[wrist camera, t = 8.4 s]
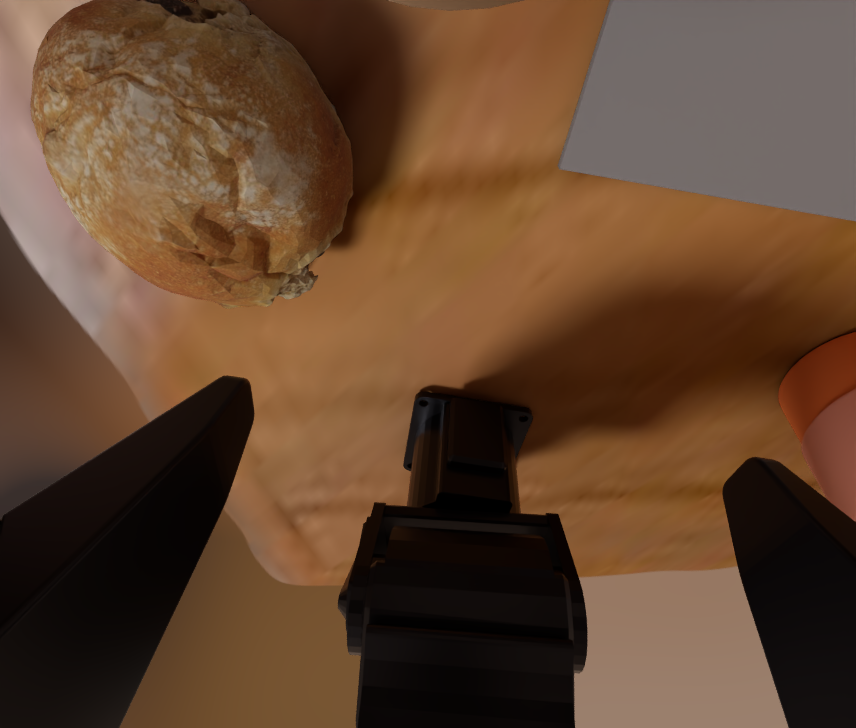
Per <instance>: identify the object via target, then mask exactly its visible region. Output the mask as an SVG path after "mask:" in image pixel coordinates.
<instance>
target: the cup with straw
mask: <svg viewBox="0 0 856 728" xmlns="http://www.w3.org/2000/svg"><path fill="white" fill-rule="evenodd" d="M778 399H779V404H780V406H781V408H782V410H783V412H784V414H785V416H786V418H787V419H788V421H789V423H790V425H791V427H792V428H793V430H794V432H795V434H796V435H797V437H798V439H799V441H800V442H801V444H802V447H801V448H802V454H803V456H804V459H805V460H806V462H807V464H808V466H809V468H810V469H811V471H812V473H813V475H814V477H815V478H816V480H817V482H818V484H819V485H820V487H821V489H822V491H823V493H824V494H825V496H826V498H827V500H828V501H830V502H831V503H832V504H833V505H835V506H836V507H837V508H839V509H840V510H841V511H842V512H844V513H845V514H846V515H847V516H849V517H850V518H851V519H853V520H854V521H855V522H856V332H853V333H850V334H847V335H844V336H841V337H838V338H836V339H833V340H831V341H829V342H827V343H825V344H823V345H821V346H819V347H817V348H816V349H814V350H813V351H811V352H810V353H808V354H807V355H805V356H804V357H803V358H801V359H800V360H799V361H798V362H797V363H796V364H795V365H794V366H793V367H792V368H791V369H790V370H789V371H788V373H787V374H786V376H785V377H784V379H783V381H782V383H781V385H780V388H779V393H778Z"/></svg>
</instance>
